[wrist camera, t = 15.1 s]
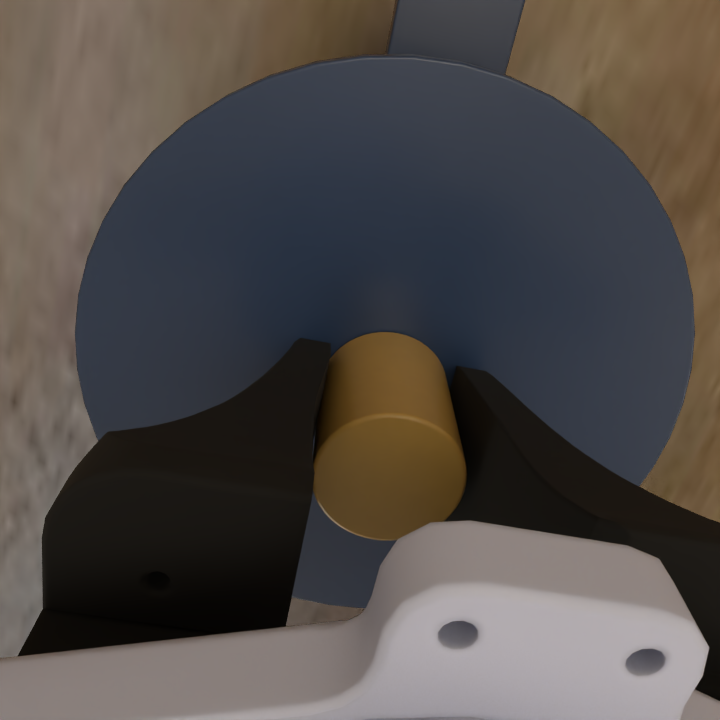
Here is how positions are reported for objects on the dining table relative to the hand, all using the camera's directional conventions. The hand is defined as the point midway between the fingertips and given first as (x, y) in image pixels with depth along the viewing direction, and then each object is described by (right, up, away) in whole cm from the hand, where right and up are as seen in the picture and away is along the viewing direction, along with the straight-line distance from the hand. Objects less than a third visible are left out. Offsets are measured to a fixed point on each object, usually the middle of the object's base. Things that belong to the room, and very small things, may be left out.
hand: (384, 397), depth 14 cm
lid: (0, 0, +1) cm, 1 cm away
